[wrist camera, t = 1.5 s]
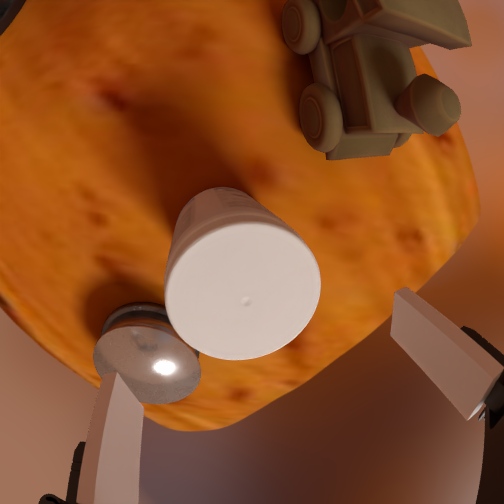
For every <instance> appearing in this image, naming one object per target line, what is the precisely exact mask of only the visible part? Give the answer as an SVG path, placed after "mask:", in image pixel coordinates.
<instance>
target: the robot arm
mask: <svg viewBox="0 0 504 504" xmlns="http://www.w3.org/2000/svg"><path fill="white" fill-rule="evenodd" d="M25 1H26V0H0V35H1V34H2V33H3V32H4V31H5V29H6V28H7V27H8V26H9V24H10V23H11V22H12V21H13V19H14V18H15V16H16V15H17V14H18V12H19V11H20V9H21V7H22V6H23V4H24V2H25ZM390 335H391V337H392V338H393V339H394V340H395V341H396V342H397V343H398V344H399V345H400V346H401V347H402V348H403V349H404V350H405V351H406V352H407V353H408V355H409V356H410V357H411V358H412V359H413V360H414V361H415V362H416V363H417V364H418V366H419V367H420V368H421V369H422V370H423V371H424V372H425V373H426V374H427V375H428V377H429V378H430V379H431V380H432V381H433V382H434V383H435V384H436V385H437V387H438V388H439V389H440V390H441V391H442V392H443V393H444V395H445V396H446V397H447V398H448V399H449V400H450V401H451V403H452V404H453V405H454V406H455V407H456V408H457V410H458V411H459V412H460V413H461V414H462V415H463V417H464V418H465V419H466V420H468V419H470V418H471V417H472V416H473V415H474V414H475V413H476V412H477V411H478V410H479V409H480V408H481V406H482V405H483V403H485V404H486V407H485V408H484V410H483V411H482V412H481V414H480V415H479V419H478V420H479V421H480V420H481V419H482V417H483V416H484V415H485V417H484V419H483V420H485V438H484V452H483V463H482V471H481V478H480V484H479V490H478V495H477V500H476V504H504V355H503V354H502V353H501V352H500V351H498V350H497V349H496V348H495V347H494V346H493V345H491V344H490V343H488V341H487V340H486V339H484V338H482V336H481V335H480V334H478V333H477V332H476V331H475V330H473V329H470V328H468V327H465V326H463V327H462V328H458V327H457V326H456V325H455V324H454V323H452V322H451V321H450V320H449V319H447V318H446V317H445V316H444V315H442V314H441V313H440V312H439V311H437V310H436V309H435V308H433V307H432V306H431V305H430V304H428V303H427V302H426V301H425V300H423V299H422V298H421V297H419V296H418V295H417V294H415V293H414V292H413V291H411V290H410V289H409V288H407V287H405V288H402V289H400V290H398V291H396V292H395V293H394V306H393V317H392V327H391V334H390ZM143 414H144V407H143V406H142V405H141V403H140V402H139V401H138V400H137V398H136V397H135V396H134V394H133V393H132V392H131V390H130V389H129V388H128V386H127V385H126V384H125V382H124V381H123V380H122V378H121V377H120V375H119V374H118V372H113V373H106V374H104V375H103V378H102V381H101V385H100V388H99V392H98V395H97V399H96V403H95V406H94V410H93V414H92V418H91V422H90V427H89V431H88V435H87V440H86V442H80V443H79V444H78V446H77V448H76V449H75V451H74V457H73V463H72V466H71V470H72V471H71V472H70V477H69V483H68V490H67V497H66V501H64V500H62V499H60V498H58V497H57V496H55V495H53V494H46V495H44V496H42V497H41V499H40V501H39V504H139V466H140V465H139V464H140V449H141V435H142V424H143Z"/></svg>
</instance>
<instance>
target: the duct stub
mask: <svg viewBox="0 0 504 504" xmlns="http://www.w3.org/2000/svg"><path fill="white" fill-rule="evenodd" d="M198 358H199V351H198V350H196V349H194V348H193V347H191V346H190V345H189V344H187V343H186V342H185V341H184V340H183V339H182V338H181V337H180V336H179V335H178V333H177V332H176V331H175V329H174V328H173V326H172V324H171V322H170V320H169V317H168V315H167V311H166V306H163V305H160V304H156V303H150V302H134V303H129V304H126V305H123V306H121V307H119V308H117V309H116V310H114V311H113V312H112V313H111V314H110V315H109V317H108V318H107V319H106V322H105V324H104V326H103V329H102V333H101V337H100V338H99V340H98V341H97V343H96V346H95V348H94V352H93V360H94V365H95V368H96V370H97V372H98V374H99V375H100V377H101V378H103V375H104V374H106V373H113V372H118V374H119V375H120V377H121V378H122V380H123V381H124V382H125V384H126V385H127V386H128V388H129V389H130V390H131V392H132V393H133V394H134V396H135V397H136V398H137V400H138V401H139V402H143V403H149V404H165V403H171V402H175V401H178V400H181V399H183V398H185V397H186V396H188V395H189V394H191V393H192V392H193V391H194V390H195V389H196V387H197V385H198V384H199V381H200V377H201V368H200V363H199V360H198Z"/></svg>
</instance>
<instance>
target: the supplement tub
mask: <svg viewBox="0 0 504 504" xmlns="http://www.w3.org/2000/svg"><path fill="white" fill-rule="evenodd" d="M320 288H321V279H320V272H319V268H318V264H317V262H316V259H315V257H314V255H313V253H312V252H311V250H310V249H309V247H308V246H307V245H306V244H305V242H304V241H303V239H302V238H301V237H300V236H299V234H298V233H297V232H296V231H294V230H293V229H292V228H291V227H290V226H288V225H287V224H286V223H285V222H283V221H282V220H281V219H280V218H278V217H277V216H276V215H274V214H273V213H272V212H270V211H269V210H268V209H266V208H265V207H264V206H262V205H261V204H260V203H258V202H257V201H256V200H254V199H253V198H252V197H250V196H249V195H247V194H246V193H244V192H242V191H240V190H237V189H234V188H228V187H217V188H211V189H208V190H205V191H203V192H201V193H199V194H197V195H196V196H194V197H193V198H192V199H191V200H190V201H189V202H188V203H187V204H186V205H185V206H184V208H183V209H182V211H181V212H180V214H179V216H178V219H177V222H176V226H175V230H174V235H173V239H172V243H171V247H170V252H169V256H168V261H167V266H166V271H165V278H164V294H165V306H166V311H167V315H168V317H169V320H170V322H171V324H172V326H173V328H174V329H175V331H176V332H177V333H178V335H179V336H180V337H181V338H182V339H183V340H184V341H185V342H186V343H187V344H189V345H190V346H191V347H193V348H194V349H196V350H198V351H200V352H202V353H204V354H206V355H209V356H212V357H216V358H220V359H226V360H245V359H252V358H257V357H261V356H264V355H267V354H269V353H271V352H274V351H276V350H278V349H280V348H281V347H283V346H285V345H286V344H287V343H289V342H290V341H291V340H293V339H294V338H295V337H296V336H297V335H298V334H299V333H300V332H301V331H302V330H303V329H304V327H305V326H306V325H307V324H308V322H309V321H310V319H311V317H312V315H313V313H314V311H315V309H316V307H317V304H318V300H319V296H320Z"/></svg>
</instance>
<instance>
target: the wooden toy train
mask: <svg viewBox="0 0 504 504" xmlns="http://www.w3.org/2000/svg"><path fill="white" fill-rule="evenodd" d="M282 31H283V36H284V39H285V42H286V44H287V46H288V47H289V48H290V49H291V50H292V51H293V52H295V53H298V54H301V55H305V54H309V59H310V64H311V68H312V73H313V78H314V83H312V84H310V85H308V86H307V87H306V88H305V89H304V91H303V92H302V94H301V97H300V102H299V117H300V124H301V128H302V131H303V134H304V137H305V139H306V140H307V142H308V143H309V144H310V145H311V147H313V148H314V149H315V150H318V151H320V152H323V153H325V154H326V160H340V159H349V158H360V157H372V156H386V155H390V153H391V151H392V149H393V148H395V147H400V146H401V145H403V144H404V143H405V142H406V141H408V139H409V137H410V136H411V134H412V133H417V134H423V130H424V131H425V132H426V133H428V134H431V135H435V136H438V137H439V136H440V135H442V134H443V133H445V132H446V131H447V130H448V129H449V128H451V127H452V126H453V125H454V124H455V123H456V122H457V121H458V120H459V117H460V114H461V106H460V102H459V99H458V97H457V95H456V94H455V92H454V91H453V90H452V89H450V88H449V87H447V86H446V85H445V84H443V83H442V82H440V81H438V80H437V79H435V78H433V77H431V76H429V75H427V74H422V75H419V76H417V74H416V70H415V66H414V62H413V59H412V56H411V53H410V50H409V48H412V47H416V46H421V45H424V44H429V43H431V44H434V45H438V46H441V47H444V48H446V49H449V50H451V49H457V48H463V47H469V46H472V44H471V39H470V34H469V30H468V26H467V22H466V19H465V16H464V14H463V11H462V9H461V6H460V4H459V2H458V0H288V1H287V2H286V4H285V5H284V8H283V12H282Z"/></svg>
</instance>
